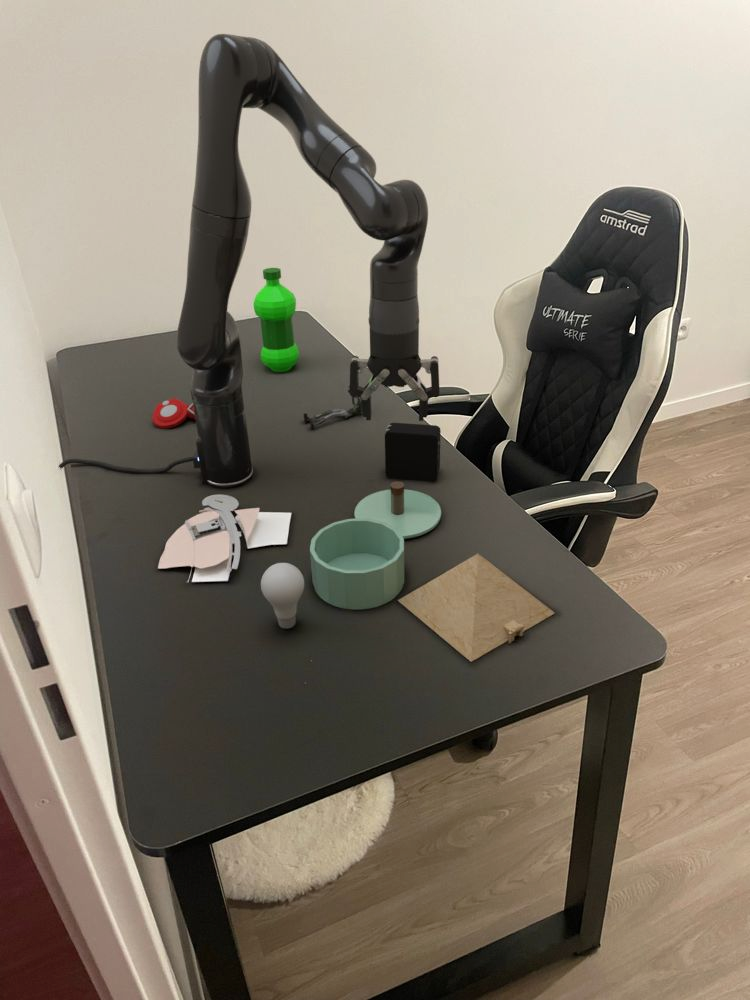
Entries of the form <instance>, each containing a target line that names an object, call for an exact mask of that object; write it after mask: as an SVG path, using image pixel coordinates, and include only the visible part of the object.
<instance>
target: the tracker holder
mask: <svg viewBox="0 0 750 1000" xmlns="http://www.w3.org/2000/svg"><path fill="white" fill-rule="evenodd" d="M186 419H190V420H193V421H196V420H195V414H194V408H193V402H192V403H191V404H190V405H189V404H186V403H184V402H183V401H182V400H179V399H178V398H176V397H174V398H169V399H167V400H164V401H163V402H159V403H157V405H156V406H155V409H154V410H153V414H152V422H153V424H154V426H156V427H157V428H159V429H172V428H175V427H177V426H179V425H181V424H182V423H183V422H184V421H186Z"/></svg>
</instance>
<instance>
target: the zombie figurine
mask: <svg viewBox="0 0 750 1000" xmlns="http://www.w3.org/2000/svg"><path fill="white" fill-rule="evenodd" d="M347 388H348V390H347V392H348V394H350V385H348V386H347ZM355 399H356V402H355ZM351 404H352V405H353V407H351V408H349V409H348V410H347V409H343V408H337V409H332V410H329V409H328V410H326V411H324V412H322V413H320V414H318V415H313V417H309V416H308V413H303V419H304V420H303V422H304V423H305V424H308V423H309V428H310V430H311V431H312V430H313V429H314V428H315V427H317V426H319V425H322V424H324V423H326V422H327V421H329V420H330V419H331V418H333V417H341V418H342V419H348V418H350V417H353V416H356V415H359V414H360V413H362V400H361V398H359V397H357V396H355V397H352V396H351ZM320 418H322V419H321V420H319V421H318V422H316V423H314V422H313V420H318V419H320Z"/></svg>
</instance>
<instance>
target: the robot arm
mask: <svg viewBox="0 0 750 1000" xmlns="http://www.w3.org/2000/svg"><path fill="white" fill-rule="evenodd" d="M198 68H199V69H198V89H197V91H198V92H197V93H198V94H197V95H198V96H197V97H198V99H197V101H198V105H197V106H198V108H197V109H198V110H197V111H198V112H197V113H198V116H197V117H198V125H197V126H198V128H197V129H198V131H197V133H198V135H197V150H196V165H195V177H194V188H193V193H192V194H193V195H192V203H191V210H190V211H191V213H190V221H189V222H190V223H189V240H188V252H187V264H186V265H187V266H186V284H185V291H184V296H183V301H182V307H181V311H180V316H179V320H178V325H177V326H178V327H177V329H176V336H175V343H176V348H177V351H178V354H179V357H180V358H181V360H183V362H184V363H185V364H186V365H187V366H188V367H190V368H191V369H193V371H192V376H191V381H190V384H189V388H190V396H191V401H192V403H193V408H194V414H195V420H194V421H195V424H196V430H197V436H196V438H195V445H196V449H195V452H194V454H193V456H189V457H183V458H180V459H176V460H174V461H172V462H170V463H169V464H168V465H167V466H165V467H161V468H160V467H159V468H150V469H149V468H147V469H146V468H135V467H124V466H119V465H114V464H110V463H107V462H103V461H99V460H91V459H90V460H89V459H83V458H68V459H65V460H64V461H62V462H61V463H59V465H58V468H59V467H60V468H59V469H62V468H64V467H65V466H67V465H69V464H81V465H89V466H90V465H91V466H98V467H103V468H105V469H106V468H107V469H109V470H113V471H118V472H125V473H126V472H127V473H133V474H134V473H135V474H161V473H165V472H168V471H171V469H172V468H174V467H175V466H178V465H181V464H185V463H190V462H192V463H193V468H194V469H200V474H201V480H202V484H203V485H209V486H211V487H214V488H217V489H219V488H220V489H230V488H235V487H239V486H242V485H244V484H246V483H248V482H249V481H250V480H252V478H253V476H254V469H253V463H252V462H253V461H252V459H253V458H252V454H251V448H250V441H249V433H248V426H247V418H246V411H245V403H244V396H243V387H242V386H243V377H244V365H243V355H242V344H241V337H240V331H239V327H238V323H237V322H236V320H235V318H234V317H233V315H232V314H231V313H230V312H229V311H228V309H229V306H228V305H229V300H230V296H231V292H232V289H233V285H234V282H235V279H236V277H237V274H238V272H239V269H240V267H241V263H242V259H243V257H244V253H245V250H246V247H247V241H248V237H249V229H250V224H251V223H250V221H251V214H252V207H253V206H252V204H253V203H252V201H253V200H252V195H251V189H250V187H249V183H248V179H247V177H246V174H245V171H244V168H243V164H242V161H241V157H240V152H239V151H240V150H239V134H240V123H241V119H242V118H241V117H242V113H243V109H259V110H260V111H262V112H264V113H266V114H268V116H270V117H272V118H273V119H274V120H276V121H278V122H279V123H280V124H281V126H283V127H284V128H285V129H286V130H287V131H288V133H289V135H290V136H291V138H292V140H293V141H294V144H295V146H296V149H297V150H298V153H299V154H300V156H301V158H302V160H303V161H304V163H306V165H307V166H308V167H309V169H311V170H312V171H313V172H314V174H316V175H317V176H318V178H320V179H321V180H322V182H324V183H325V184H326V185H327V186H328V187H330V188H331V189H332V190H333V191H334V192H335V193H336V194H337V195H338V196H339V198H340V200H341V203H342V204H343V205H344V208H346V210H347V212H348V214H349V215H350V216H351V219H353V221H354V223H355V224H356V226H357V227H358V228H359V230H360V231H362V232H363V233H364V234H365V235H367V236H369V237H370V238H372V239H373V240H377V241H381V242H382V241H383V245H382V247H381V248H380V249H379V250H378V251H377V252H376V253H375V254H374V255H373V257H372V258H371V260H370V264H369V294H370V295H369V296H370V297H369V305H368V306H369V307H368V315H369V316H368V326H369V357H368V358H360V357H359V356H357V355H353V356H352V357H351V359H350V363H349V364H350V365H349V386H350V388H349V389H350V393H349V396H350V397H351V398H352V397H355V396H357V397H359V398H361V400H362V412H361V415H362V417H363V418H365V419H366V421H372V394H374V392H376V391H377V389H378V388H379V387H380V386H384V388H391V387H398V388H404V387H405V386H408V387H409V388H410V390H411V391H412V392H413V393H415V394H416V395H417V397H418V421H419V422H424V418H425V419H426V418H428V415H429V400H430V399H431V398H438V397H439V396H440V369H439V367H440V365H439V358H438V356H436V355H433V356H431V357H430V358H428V359H426V358H425V359H422V358H421V357H420V355H419V354H420V349H419V346H420V344H419V342H420V341H419V339H420V306H419V297H418V296H419V295H418V286H419V285H418V282H419V281H418V280H419V279H418V278H419V277H418V275H419V273H418V267H419V266H418V265H419V261H420V257H421V254H422V251H423V246H424V241H425V238H426V233H427V228H428V220H429V206H428V201H427V197H426V194H425V192H424V190H423V189H422V187H421V186H420V185H419V184H418V183H417V182H415V181H414V180H412V179H399V180H396V181H393V182H389V183H385V184H380V183H379V182H378V181H377V180H376V179H375V177H376V174H377V163H376V161H375V158H374V157H373V156H372V154H371V153H370V152H368V150H367V149H365V147H364V146H362V145H361V144H360V143H359V142H358V141H357V140H356V139H355V138H354V137H352V136H351V135H350V134H349V133H348V132H347V131H346V130H345V129H344V128H342V127H341V126H340V125H339V123H337V122H336V121H335V120H334V119H332V117H331V116H330V115H329V114H328V113H327V112H326V111H325V110H324V109H323V108H322V107H321V106H320V105H319V104H318V103H317V101H316V100H315V99H314V98H313V97H312V96H311V95H310V93H309V92H308V91H307V90H306V89H305V88H304V86H303V85H302V84H301V82H300V81H299V80H298V78H297V77H296V76H295V75H294V74H293V72H292V71H291V69H289V67H288V66H287V64H286V63H285V62H284V60H283V59H282V58H281V57H280V55H279V54H278V52H276V51H275V50H274V48H272V46H270V45H269V44H268V43H267V42H266V41H264V40H261V39H260V38H257V37H250V36H242V35H236V34H229V33H217V34H215V35H213V36H212V37H210V39H208V41H207V42H206V43H205V45H204V47H203V49H202V52H201V55H200V60H199V67H198ZM365 368H367V369H368V371H369V372H370V373H371V374H372V375H371V376H370V378H369V380H368V381H367V383H366V384H365V385H364V386H359V384H360V383H359V378H360V377H359V376H360V374H362V373H363V372H364V369H365ZM422 368H423V369H424V370H425V372H426V374H428V375H430V385H431V386H429V387H426V385H425V384H424V383H423V382H422V379H421V377H419V375H418V373H419V372H420V371H421V369H422Z"/></svg>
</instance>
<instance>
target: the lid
mask: <svg viewBox="0 0 750 1000" xmlns="http://www.w3.org/2000/svg"><path fill="white" fill-rule="evenodd" d="M353 512H354V519H366V518H369V519H373V520H377V521H382V522H385V523H387V524H389V525H390V526H392V527H394V528H396V529H397V530H398V531H399V533H400V534H401V535H402V537H403V538H404V540H406V539H411V538H416V537H419V536H422V535H425V534H427V533H429V532H430V531H432V530H434V529H435V528H436V527H437V526H438V524H439V523H440V521H441V518H442V509H441V505H440V504H439V503H438V502H437V501H436V500H435V498H433V497H432V496H430V495H428V494H427V493H423V492H421V491H417V490H413V489H405V483H404V482H402V481H397V480H396V481H393V482H391V483H390V489H384V490H379V491H376V492H373V493H371V494H369V495H367V496H365V497H364V498H362V499H360V501H359V502H358V503H357V505H355V508H354V511H353Z"/></svg>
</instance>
